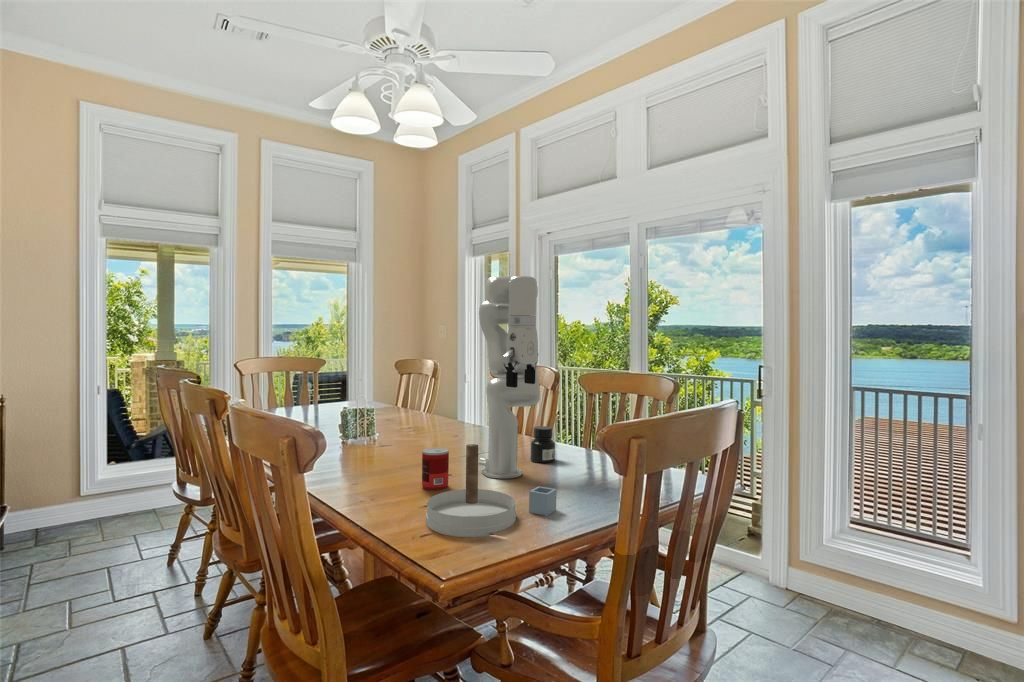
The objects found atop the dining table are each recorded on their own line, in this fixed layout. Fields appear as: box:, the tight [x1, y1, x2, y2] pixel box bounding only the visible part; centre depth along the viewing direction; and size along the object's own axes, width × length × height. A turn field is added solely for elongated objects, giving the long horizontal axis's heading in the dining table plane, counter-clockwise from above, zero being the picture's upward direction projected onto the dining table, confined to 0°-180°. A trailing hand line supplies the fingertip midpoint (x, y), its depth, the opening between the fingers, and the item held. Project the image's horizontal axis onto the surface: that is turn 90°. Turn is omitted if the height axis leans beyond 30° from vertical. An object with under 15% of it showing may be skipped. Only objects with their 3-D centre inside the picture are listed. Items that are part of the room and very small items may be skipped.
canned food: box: [421, 447, 450, 491], centre depth 164 cm, size 8×8×11 cm
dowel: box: [465, 443, 479, 504], centre depth 135 cm, size 3×3×14 cm
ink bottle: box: [529, 425, 556, 464], centre depth 198 cm, size 10×9×12 cm
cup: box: [528, 486, 557, 517], centre depth 141 cm, size 5×5×6 cm
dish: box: [425, 488, 517, 538], centre depth 135 cm, size 22×22×5 cm
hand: (521, 385), depth 149 cm, fingers open, 9 cm apart
